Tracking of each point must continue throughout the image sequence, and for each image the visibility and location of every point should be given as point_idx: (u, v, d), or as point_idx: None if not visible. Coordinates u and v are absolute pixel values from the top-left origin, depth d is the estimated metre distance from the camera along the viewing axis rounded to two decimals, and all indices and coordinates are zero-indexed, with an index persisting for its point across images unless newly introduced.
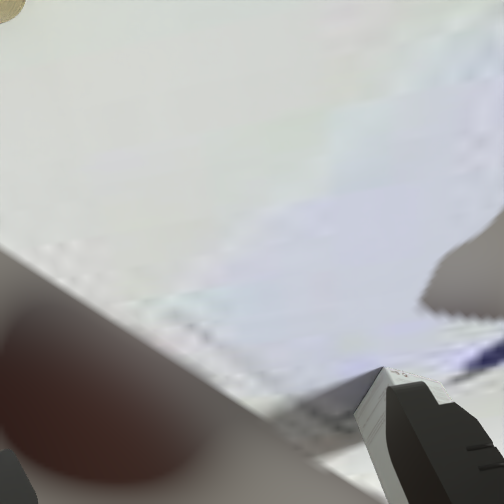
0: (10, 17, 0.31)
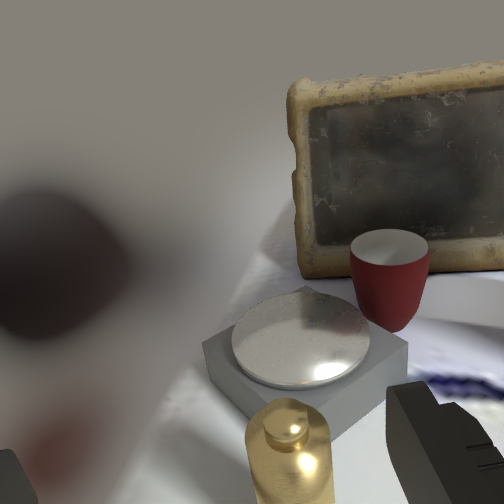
0: None
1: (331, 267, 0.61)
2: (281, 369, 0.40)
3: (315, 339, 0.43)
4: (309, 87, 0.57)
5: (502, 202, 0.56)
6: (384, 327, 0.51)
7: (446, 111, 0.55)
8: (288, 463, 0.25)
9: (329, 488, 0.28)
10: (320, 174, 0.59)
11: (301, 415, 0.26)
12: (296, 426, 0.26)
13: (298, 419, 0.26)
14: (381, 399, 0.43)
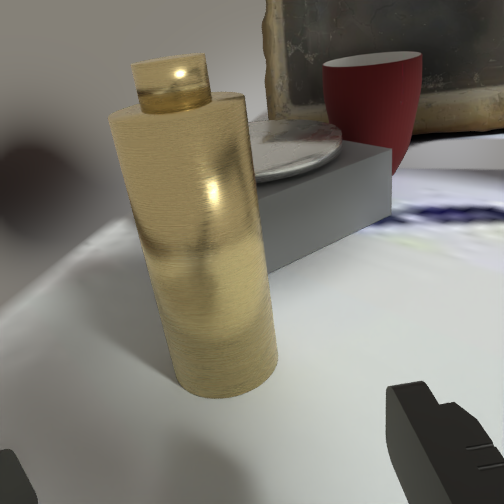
0: (192, 383, 0.20)
1: None
2: None
3: (270, 143, 0.32)
4: None
5: None
6: None
7: None
8: (165, 116, 0.15)
9: (245, 199, 0.17)
10: (294, 16, 0.49)
11: (194, 55, 0.16)
12: (181, 58, 0.15)
13: (187, 56, 0.16)
14: (356, 225, 0.33)
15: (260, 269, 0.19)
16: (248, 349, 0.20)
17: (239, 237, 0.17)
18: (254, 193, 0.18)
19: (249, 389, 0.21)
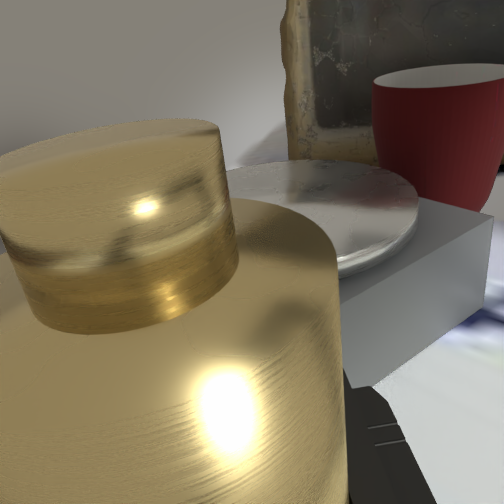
0: None
1: None
2: None
3: (308, 209, 0.21)
4: None
5: None
6: None
7: None
8: (80, 381, 0.04)
9: None
10: (322, 14, 0.38)
11: (184, 141, 0.05)
12: (138, 163, 0.04)
13: (163, 147, 0.05)
14: (438, 331, 0.22)
15: None
16: None
17: None
18: (346, 479, 0.07)
19: None
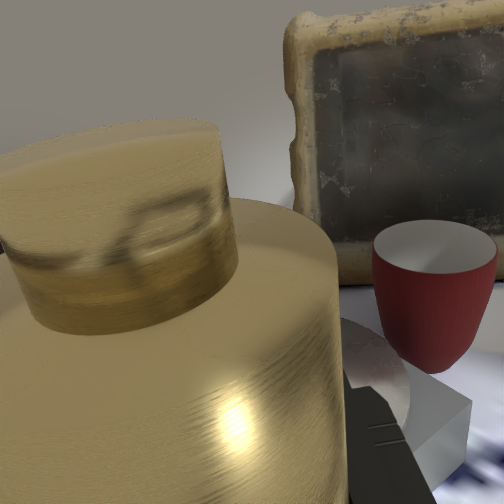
0: None
1: (342, 272, 0.45)
2: None
3: None
4: (315, 22, 0.41)
5: None
6: (422, 366, 0.34)
7: None
8: (77, 383, 0.04)
9: None
10: (328, 144, 0.43)
11: (184, 140, 0.05)
12: (138, 163, 0.04)
13: (162, 147, 0.05)
14: None
15: None
16: None
17: None
18: (346, 480, 0.07)
19: None
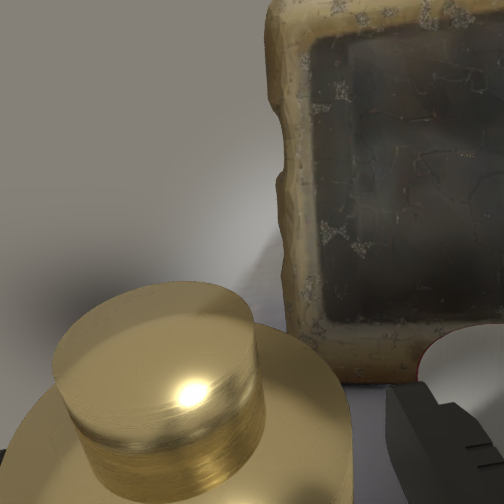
0: None
1: (354, 367, 0.30)
2: None
3: None
4: None
5: None
6: None
7: None
8: None
9: None
10: (333, 180, 0.29)
11: (225, 336, 0.06)
12: (192, 376, 0.05)
13: (209, 348, 0.06)
14: None
15: None
16: None
17: None
18: None
19: None
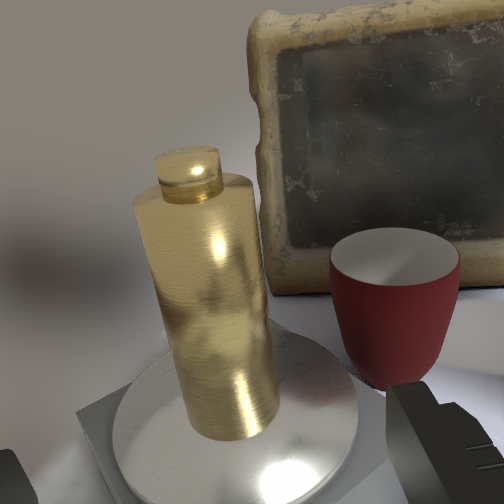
0: (204, 428, 0.23)
1: (310, 280, 0.43)
2: (186, 485, 0.21)
3: None
4: (277, 20, 0.40)
5: None
6: (384, 384, 0.32)
7: (476, 52, 0.38)
8: (185, 210, 0.18)
9: (253, 273, 0.20)
10: (294, 147, 0.41)
11: (209, 153, 0.18)
12: (199, 159, 0.18)
13: (204, 155, 0.18)
14: None
15: (265, 329, 0.21)
16: (254, 399, 0.22)
17: (247, 306, 0.20)
18: (260, 265, 0.20)
19: (255, 432, 0.23)
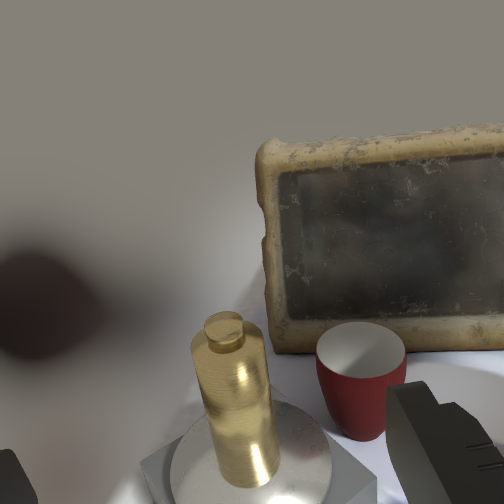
0: (231, 479, 0.35)
1: (304, 343, 0.56)
2: None
3: None
4: (279, 151, 0.52)
5: (490, 278, 0.51)
6: (356, 437, 0.44)
7: (428, 180, 0.50)
8: (224, 360, 0.30)
9: (263, 390, 0.32)
10: (291, 244, 0.54)
11: (237, 322, 0.31)
12: (231, 329, 0.30)
13: (234, 325, 0.31)
14: None
15: (271, 419, 0.34)
16: (264, 462, 0.34)
17: (260, 409, 0.32)
18: (267, 382, 0.33)
19: (264, 482, 0.35)
